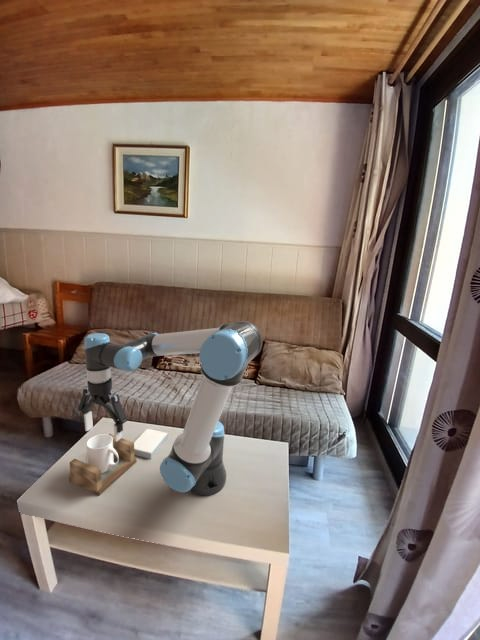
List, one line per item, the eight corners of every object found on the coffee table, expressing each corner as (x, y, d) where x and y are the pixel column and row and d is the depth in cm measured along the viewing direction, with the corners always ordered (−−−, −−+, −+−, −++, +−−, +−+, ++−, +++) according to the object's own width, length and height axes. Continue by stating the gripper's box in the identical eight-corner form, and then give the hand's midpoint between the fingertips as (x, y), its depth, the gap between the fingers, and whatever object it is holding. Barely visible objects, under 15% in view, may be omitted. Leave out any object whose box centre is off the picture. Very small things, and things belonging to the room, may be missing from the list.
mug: (110, 480, 107) (109, 453, 104) (82, 471, 110) (80, 445, 107) (126, 464, 115) (125, 439, 112) (99, 456, 118) (98, 431, 115)
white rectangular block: (167, 438, 134) (167, 432, 133) (151, 459, 120) (151, 453, 120) (147, 433, 136) (147, 428, 135) (128, 453, 123) (128, 447, 122)
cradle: (136, 461, 118) (136, 443, 116) (99, 495, 102) (98, 474, 100) (108, 450, 123) (107, 433, 121) (69, 481, 107) (67, 461, 105)
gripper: (136, 382, 103) (138, 437, 108) (81, 368, 112) (86, 420, 117) (120, 391, 96) (123, 450, 101) (63, 375, 105) (68, 430, 110)
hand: (103, 434), depth 109 cm, fingers open, 13 cm apart
